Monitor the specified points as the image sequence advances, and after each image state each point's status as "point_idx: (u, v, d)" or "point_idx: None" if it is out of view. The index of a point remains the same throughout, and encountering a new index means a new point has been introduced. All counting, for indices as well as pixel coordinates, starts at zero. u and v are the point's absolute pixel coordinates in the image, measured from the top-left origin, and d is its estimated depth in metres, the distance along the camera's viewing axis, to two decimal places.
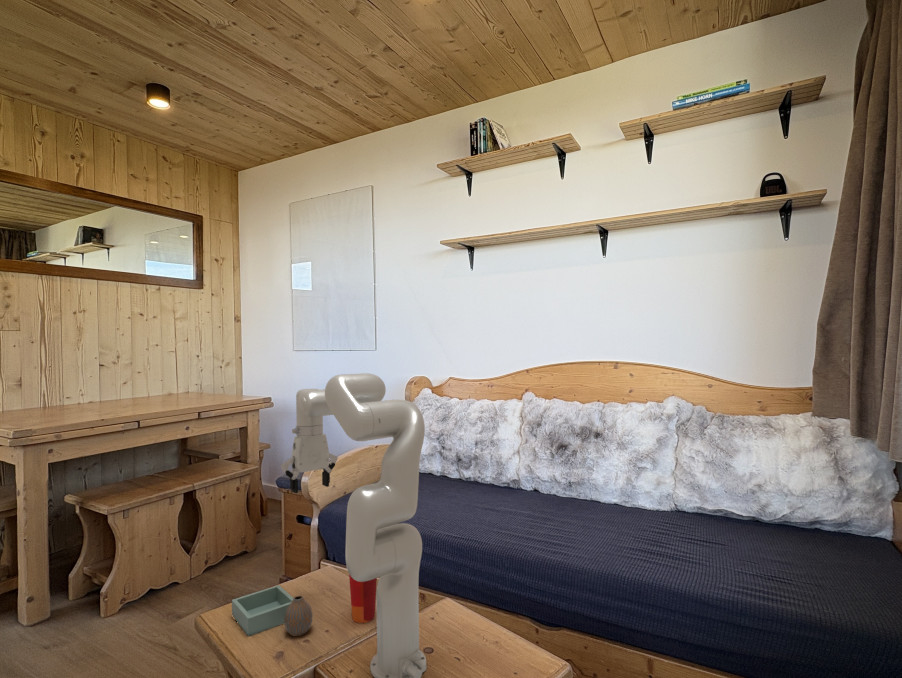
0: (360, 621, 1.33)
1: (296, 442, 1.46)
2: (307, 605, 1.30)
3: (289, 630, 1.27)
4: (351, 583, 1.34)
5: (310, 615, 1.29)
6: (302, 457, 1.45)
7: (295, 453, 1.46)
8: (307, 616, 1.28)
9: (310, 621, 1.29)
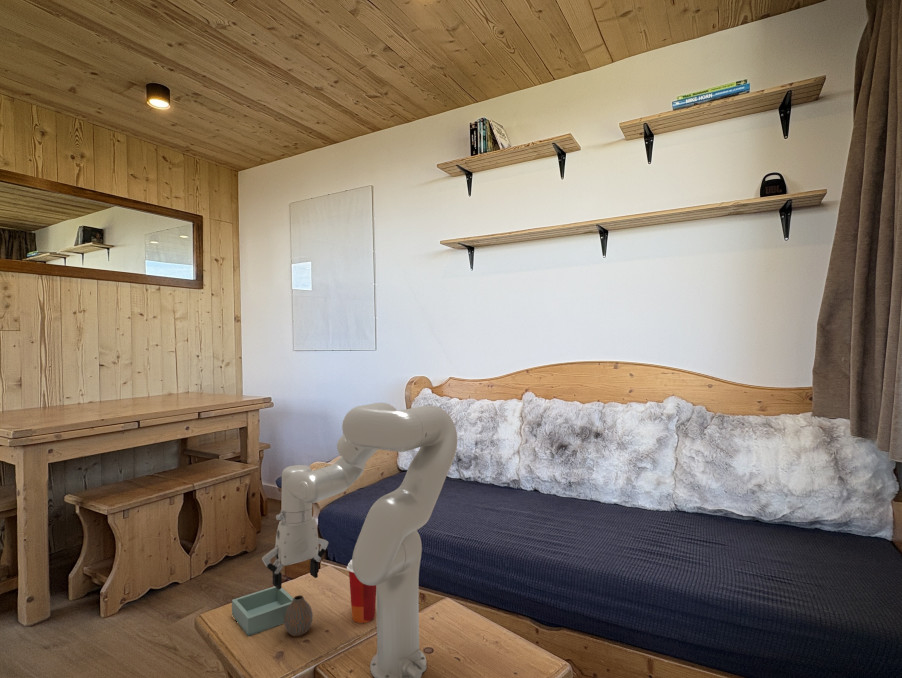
0: (360, 621, 1.33)
1: (280, 530, 1.26)
2: (307, 605, 1.30)
3: (289, 630, 1.27)
4: (351, 583, 1.34)
5: (310, 615, 1.29)
6: (287, 548, 1.26)
7: (279, 543, 1.26)
8: (307, 616, 1.28)
9: (310, 621, 1.29)
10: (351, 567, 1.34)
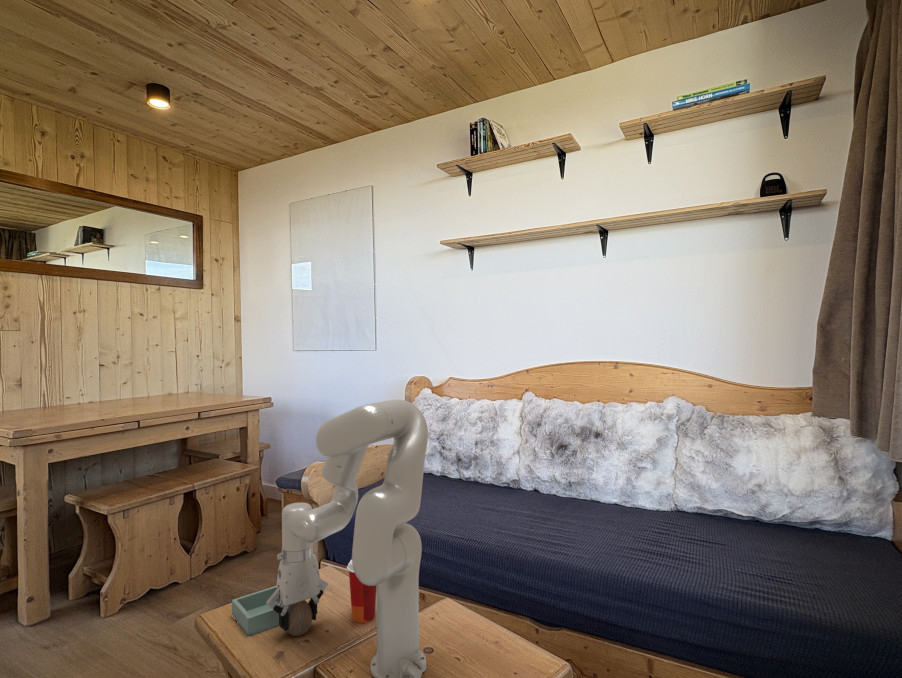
0: (360, 621, 1.33)
1: (281, 570, 1.26)
2: (307, 605, 1.30)
3: (289, 630, 1.27)
4: (351, 583, 1.34)
5: (310, 615, 1.29)
6: (289, 587, 1.26)
7: (280, 583, 1.26)
8: (307, 615, 1.28)
9: (310, 621, 1.29)
10: (351, 567, 1.34)
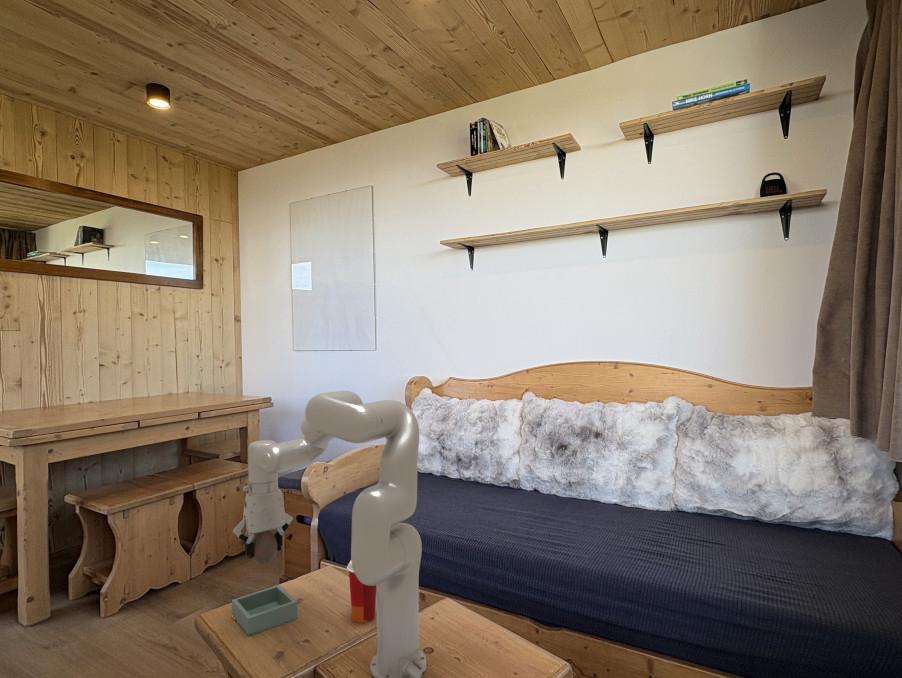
0: (360, 621, 1.33)
1: (247, 501, 1.34)
2: (272, 535, 1.37)
3: (254, 557, 1.34)
4: (351, 583, 1.34)
5: (275, 544, 1.37)
6: (254, 517, 1.33)
7: (246, 513, 1.33)
8: (272, 544, 1.36)
9: (274, 549, 1.36)
10: (351, 567, 1.34)
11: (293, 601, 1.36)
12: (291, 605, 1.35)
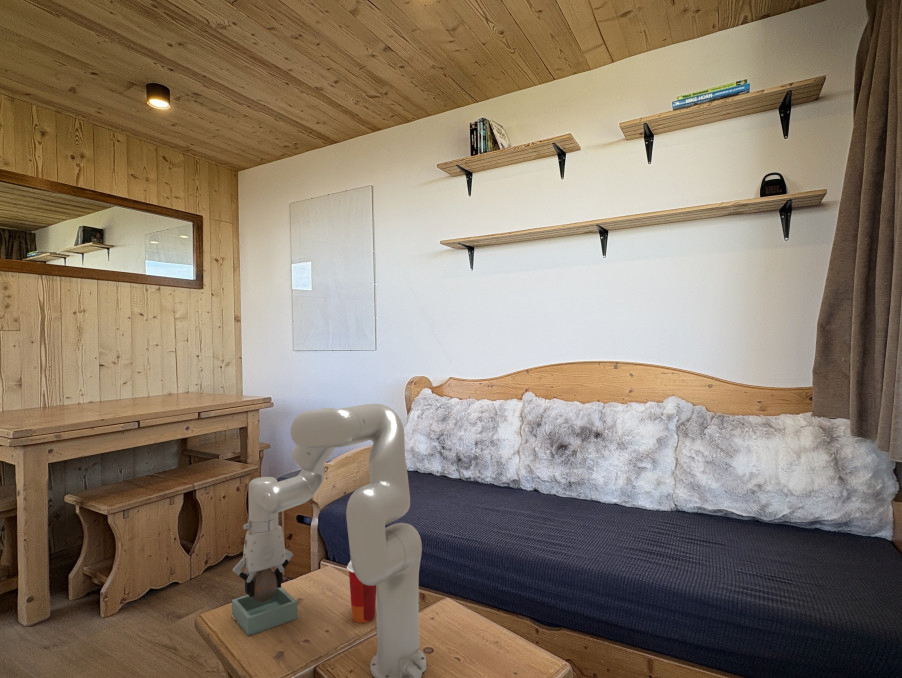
0: (360, 621, 1.33)
1: (247, 539, 1.33)
2: (272, 573, 1.37)
3: (254, 596, 1.34)
4: (351, 583, 1.34)
5: (275, 582, 1.36)
6: (254, 556, 1.33)
7: (246, 551, 1.33)
8: (272, 582, 1.36)
9: (274, 587, 1.36)
10: (351, 567, 1.34)
11: (293, 601, 1.36)
12: (291, 605, 1.35)
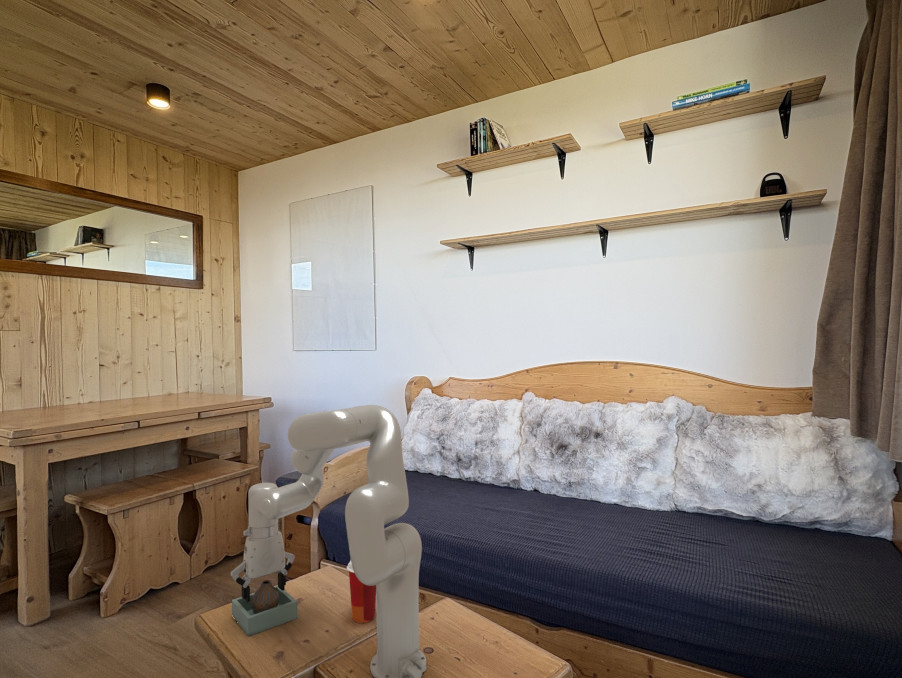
0: (360, 621, 1.33)
1: (247, 545, 1.33)
2: (274, 590, 1.37)
3: (255, 612, 1.34)
4: (351, 583, 1.34)
5: (276, 599, 1.36)
6: (254, 562, 1.33)
7: (246, 558, 1.33)
8: (274, 600, 1.35)
9: (276, 604, 1.36)
10: (351, 567, 1.34)
11: (293, 601, 1.36)
12: (291, 605, 1.35)
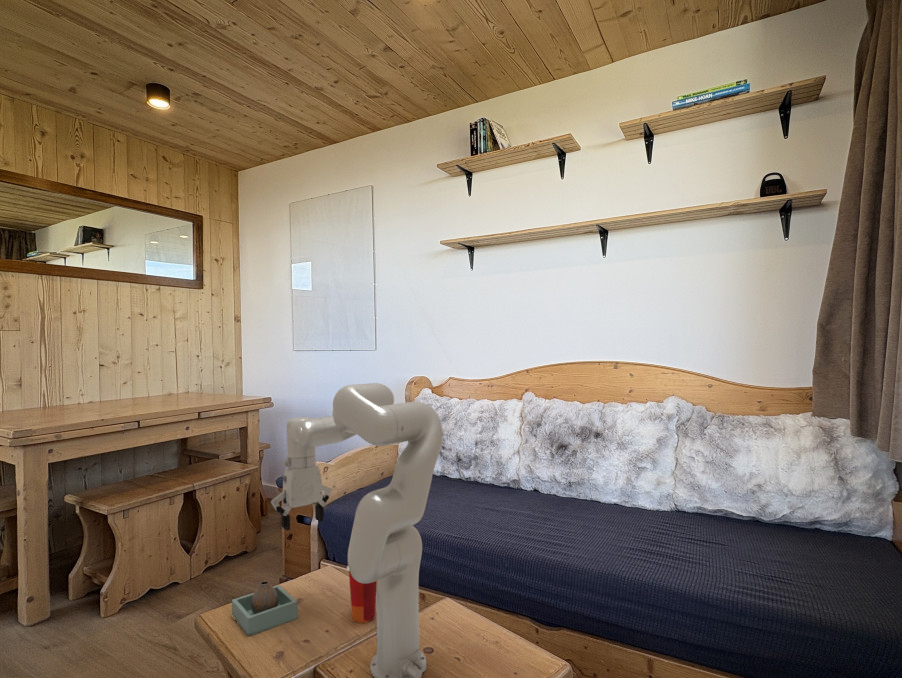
0: (360, 621, 1.33)
1: (287, 475, 1.36)
2: (273, 590, 1.37)
3: (255, 613, 1.34)
4: (351, 583, 1.34)
5: (275, 599, 1.36)
6: (294, 491, 1.36)
7: (286, 487, 1.36)
8: (273, 600, 1.35)
9: (275, 604, 1.36)
10: None
11: (293, 601, 1.36)
12: (291, 605, 1.35)
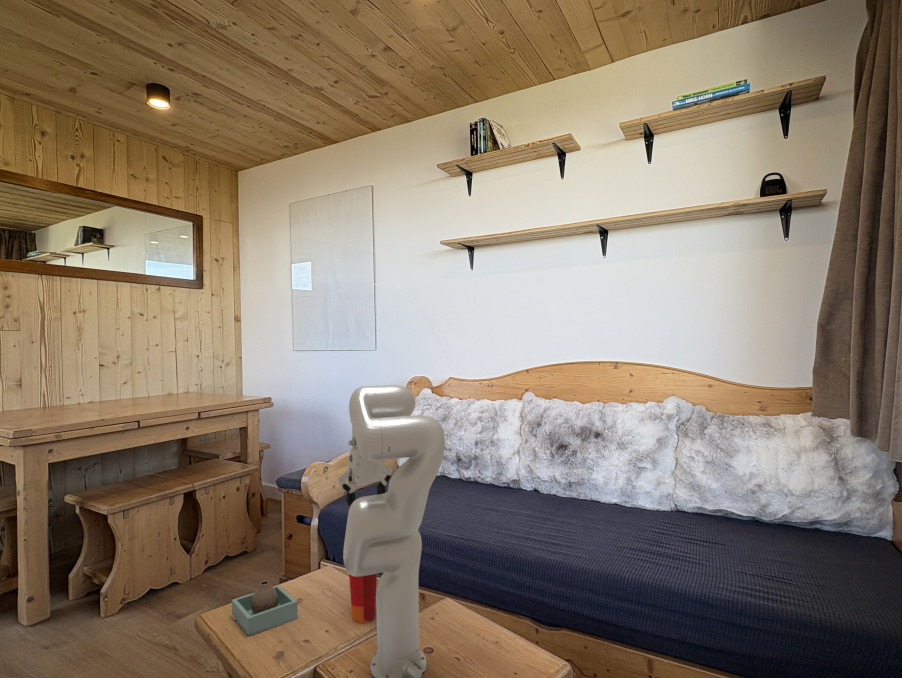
0: (360, 621, 1.33)
1: (353, 454, 1.41)
2: (273, 590, 1.37)
3: (255, 613, 1.34)
4: (351, 583, 1.34)
5: (275, 599, 1.36)
6: (360, 469, 1.40)
7: (352, 466, 1.41)
8: (273, 600, 1.35)
9: (275, 604, 1.36)
10: None
11: (293, 601, 1.36)
12: (291, 605, 1.35)
